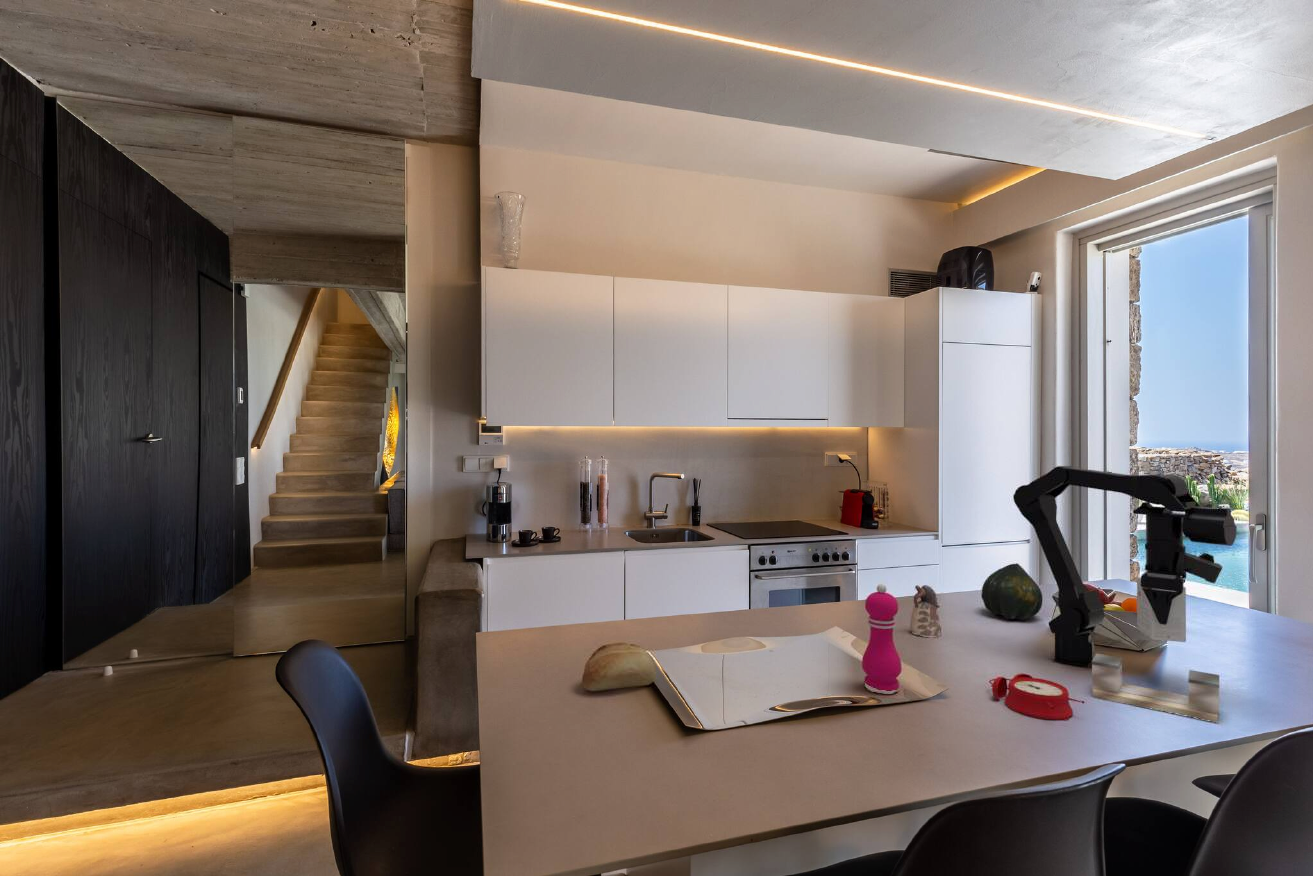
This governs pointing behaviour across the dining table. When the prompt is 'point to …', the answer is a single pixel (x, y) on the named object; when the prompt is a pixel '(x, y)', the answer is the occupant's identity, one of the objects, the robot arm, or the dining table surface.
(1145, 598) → the small box
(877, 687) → the pepper mill
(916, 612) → the figurine
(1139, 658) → the dining table surface
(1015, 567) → the squash
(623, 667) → the bread roll
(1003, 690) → the alarm clock
